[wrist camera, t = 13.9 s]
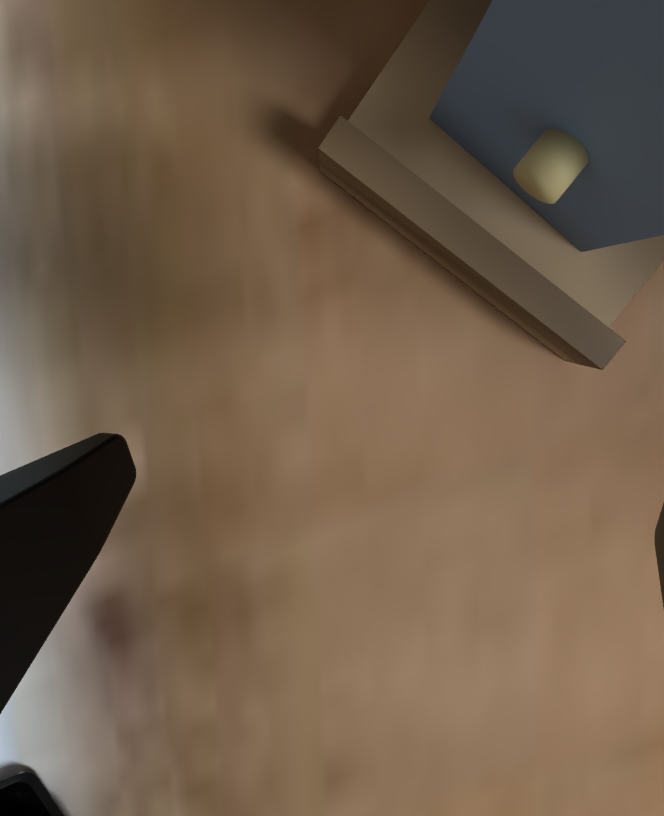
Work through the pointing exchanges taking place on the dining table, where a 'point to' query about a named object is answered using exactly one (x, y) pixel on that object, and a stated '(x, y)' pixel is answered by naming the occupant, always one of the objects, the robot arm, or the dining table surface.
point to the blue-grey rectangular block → (568, 112)
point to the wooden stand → (476, 201)
